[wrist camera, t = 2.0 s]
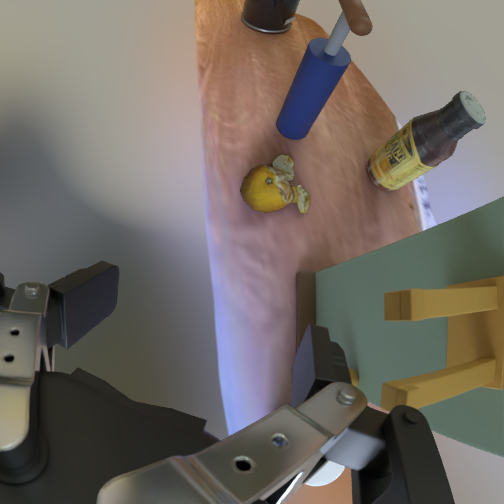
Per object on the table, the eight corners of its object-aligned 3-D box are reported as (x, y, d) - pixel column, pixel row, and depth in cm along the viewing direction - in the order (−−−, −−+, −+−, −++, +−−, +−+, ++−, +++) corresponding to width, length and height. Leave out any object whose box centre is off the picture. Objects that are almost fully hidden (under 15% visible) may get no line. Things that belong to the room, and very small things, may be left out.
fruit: (315, 209, 37) (326, 198, 34) (255, 232, 36) (261, 223, 32) (287, 153, 38) (295, 139, 35) (228, 171, 37) (231, 157, 33)
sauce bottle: (366, 149, 41) (447, 67, 21) (400, 165, 41) (486, 98, 22) (361, 185, 39) (455, 108, 20) (397, 202, 40) (496, 141, 20)
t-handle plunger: (310, 152, 39) (392, 32, 17) (277, 148, 38) (341, 15, 17) (305, 107, 40) (368, -11, 19) (275, 102, 40) (325, -24, 18)
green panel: (257, 376, 32) (440, 554, 3) (258, 272, 35) (462, 119, 6) (345, 369, 34) (577, 430, 5) (345, 273, 36) (580, 192, 7)
